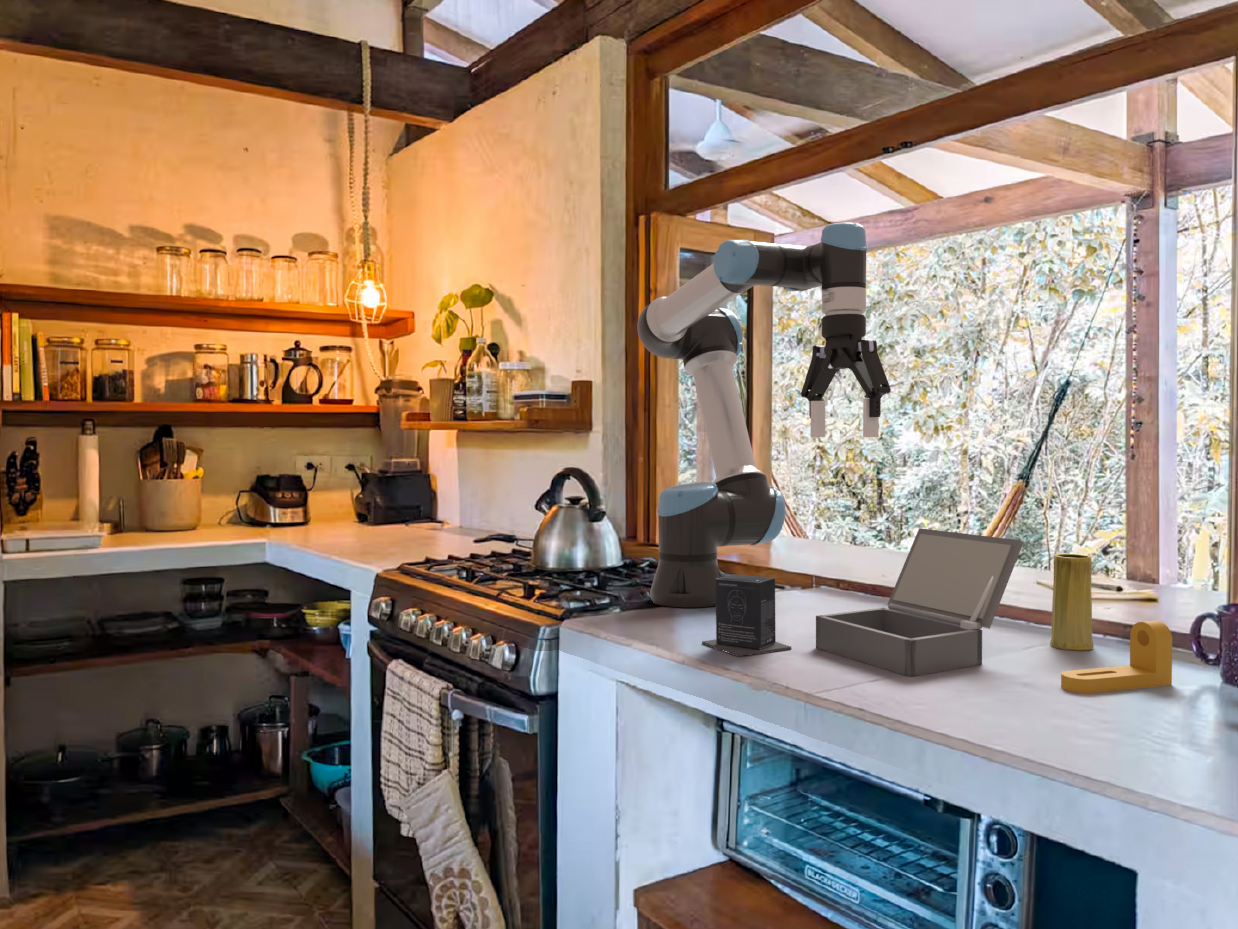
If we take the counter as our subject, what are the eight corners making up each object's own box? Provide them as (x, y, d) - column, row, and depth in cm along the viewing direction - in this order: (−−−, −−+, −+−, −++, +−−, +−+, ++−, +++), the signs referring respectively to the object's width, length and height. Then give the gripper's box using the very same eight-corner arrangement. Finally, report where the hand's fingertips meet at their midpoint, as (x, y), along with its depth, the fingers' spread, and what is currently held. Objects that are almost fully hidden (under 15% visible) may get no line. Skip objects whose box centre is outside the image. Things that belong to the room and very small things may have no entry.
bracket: (1144, 677, 130) (1145, 617, 129) (1171, 686, 125) (1172, 624, 125) (1053, 686, 125) (1054, 624, 125) (1078, 695, 121) (1078, 631, 121)
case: (815, 647, 148) (815, 535, 147) (921, 632, 158) (922, 528, 158) (910, 676, 130) (910, 549, 130) (1022, 657, 141) (1023, 540, 140)
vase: (1090, 643, 149) (1091, 554, 149) (1096, 652, 144) (1097, 559, 143) (1048, 641, 151) (1049, 552, 151) (1052, 649, 146) (1053, 557, 145)
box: (776, 643, 149) (776, 577, 149) (759, 650, 144) (759, 581, 144) (732, 637, 154) (732, 572, 153) (714, 644, 149) (714, 577, 149)
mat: (702, 643, 151) (702, 641, 151) (753, 637, 156) (753, 634, 156) (738, 656, 142) (738, 654, 142) (791, 649, 147) (791, 646, 147)
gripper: (781, 321, 173) (781, 437, 174) (878, 304, 151) (877, 437, 152) (813, 323, 177) (813, 436, 178) (912, 307, 155) (912, 437, 156)
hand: (843, 437), depth 165 cm, fingers open, 13 cm apart
